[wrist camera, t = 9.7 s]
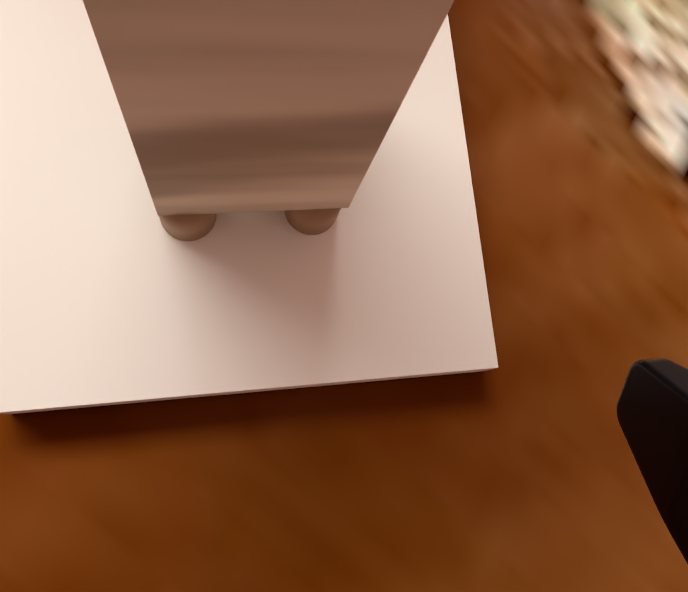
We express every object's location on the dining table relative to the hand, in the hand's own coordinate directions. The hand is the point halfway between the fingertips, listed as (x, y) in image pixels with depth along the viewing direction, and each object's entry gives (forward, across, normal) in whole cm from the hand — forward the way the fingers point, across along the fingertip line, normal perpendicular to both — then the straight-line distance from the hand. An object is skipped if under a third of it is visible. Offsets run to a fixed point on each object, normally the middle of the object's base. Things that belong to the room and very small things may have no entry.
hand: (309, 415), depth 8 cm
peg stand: (+14, 0, +2) cm, 14 cm away
